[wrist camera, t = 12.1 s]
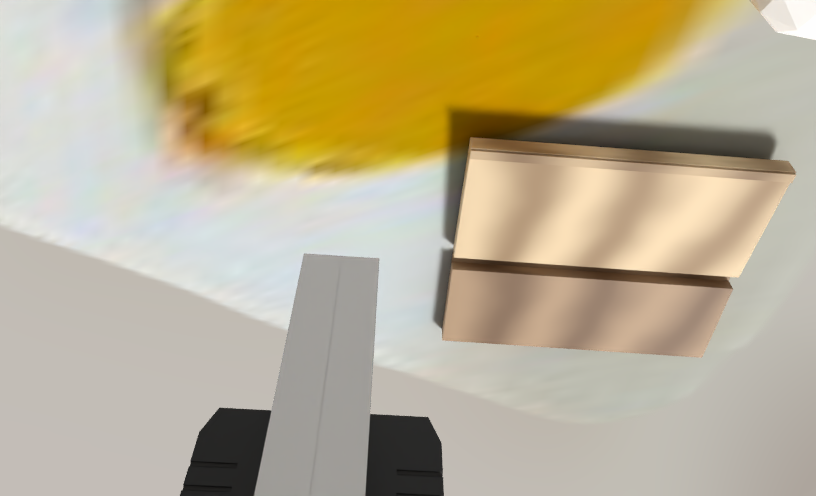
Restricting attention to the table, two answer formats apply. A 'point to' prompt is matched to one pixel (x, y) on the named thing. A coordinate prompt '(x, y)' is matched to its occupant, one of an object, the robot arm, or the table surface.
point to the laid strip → (582, 307)
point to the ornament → (790, 16)
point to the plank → (615, 207)
